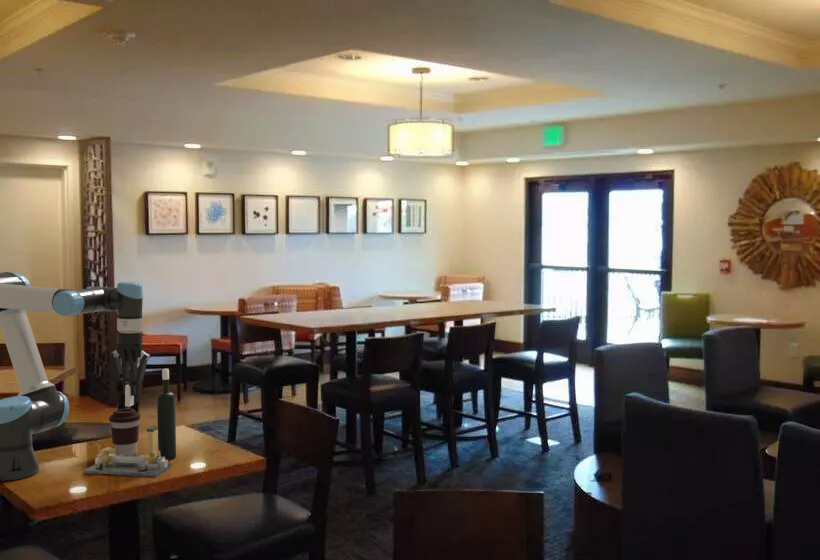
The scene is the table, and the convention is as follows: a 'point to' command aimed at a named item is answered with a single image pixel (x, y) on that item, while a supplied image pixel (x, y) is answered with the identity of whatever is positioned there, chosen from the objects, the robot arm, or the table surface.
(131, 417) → the coffee cup
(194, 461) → the table surface
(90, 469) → the trammel plate
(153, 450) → the sliding leg
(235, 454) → the table surface
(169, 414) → the wine bottle
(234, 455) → the table surface
